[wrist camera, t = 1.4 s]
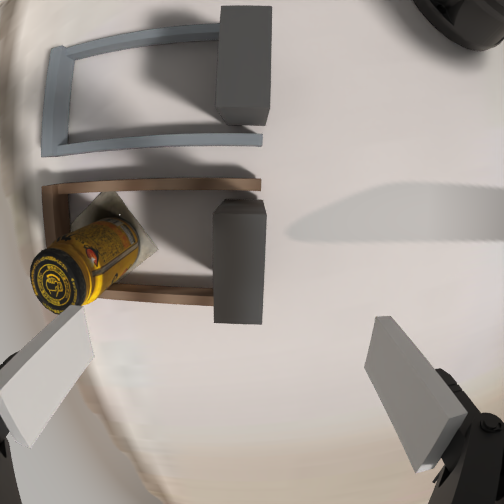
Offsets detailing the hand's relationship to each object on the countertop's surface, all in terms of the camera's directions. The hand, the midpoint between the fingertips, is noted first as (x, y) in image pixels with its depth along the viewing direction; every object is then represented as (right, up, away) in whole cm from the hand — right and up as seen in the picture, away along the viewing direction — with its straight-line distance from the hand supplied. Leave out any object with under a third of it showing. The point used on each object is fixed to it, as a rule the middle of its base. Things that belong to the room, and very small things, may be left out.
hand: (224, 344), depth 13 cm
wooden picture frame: (-9, +5, +17) cm, 20 cm away
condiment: (-14, +6, +18) cm, 23 cm away
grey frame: (-9, +20, +13) cm, 25 cm away
